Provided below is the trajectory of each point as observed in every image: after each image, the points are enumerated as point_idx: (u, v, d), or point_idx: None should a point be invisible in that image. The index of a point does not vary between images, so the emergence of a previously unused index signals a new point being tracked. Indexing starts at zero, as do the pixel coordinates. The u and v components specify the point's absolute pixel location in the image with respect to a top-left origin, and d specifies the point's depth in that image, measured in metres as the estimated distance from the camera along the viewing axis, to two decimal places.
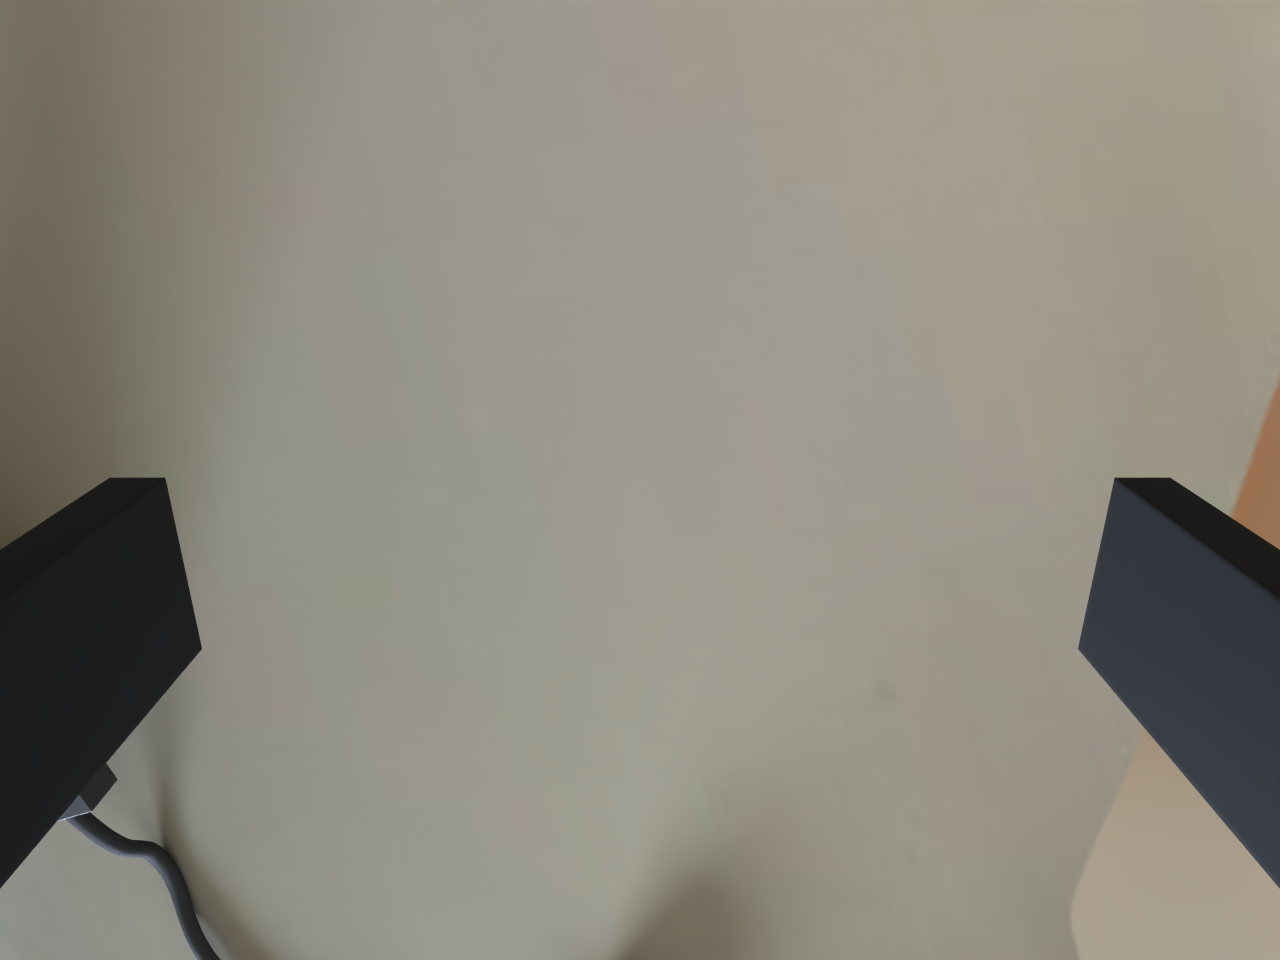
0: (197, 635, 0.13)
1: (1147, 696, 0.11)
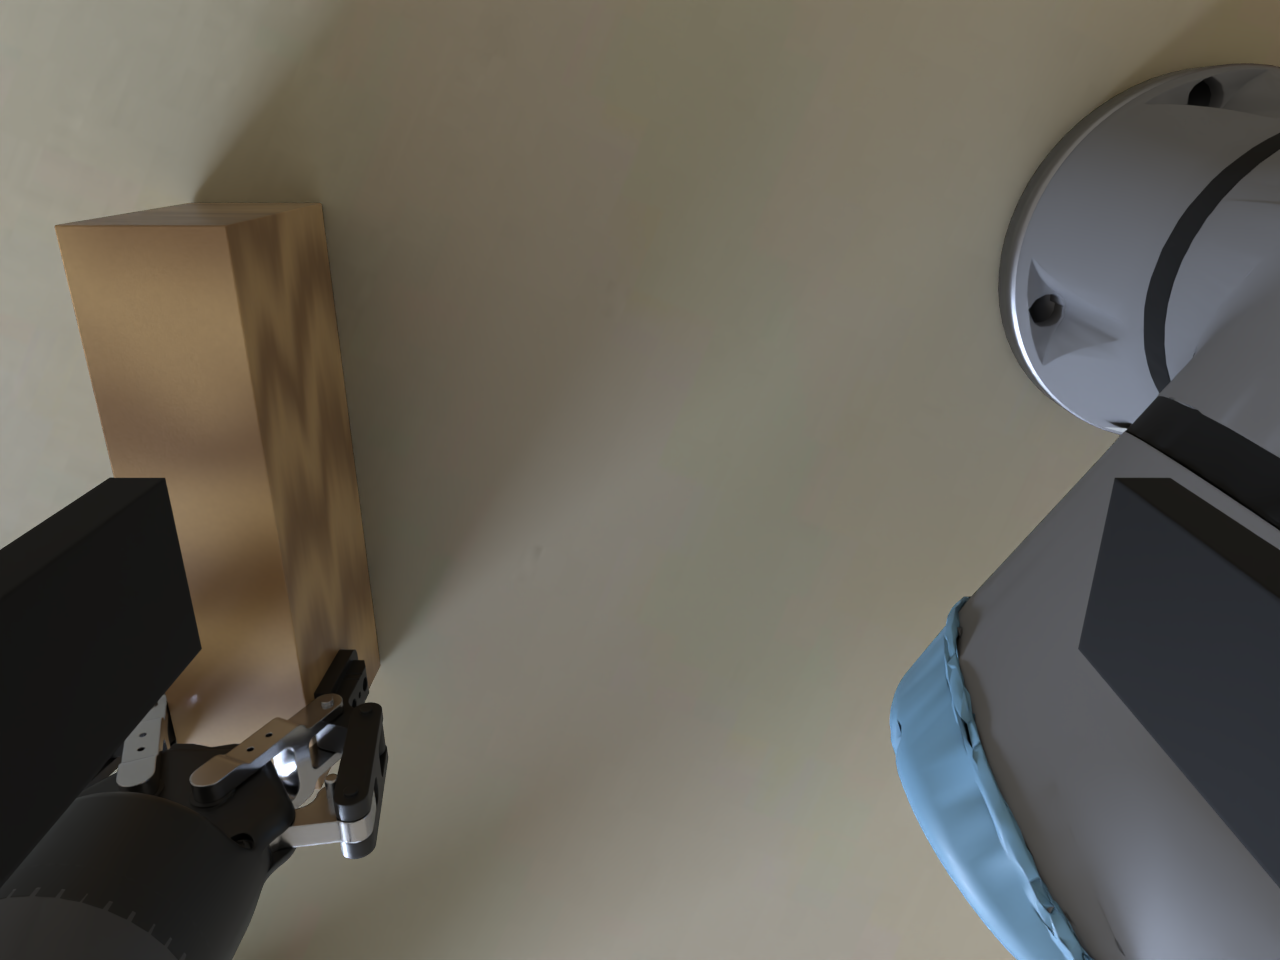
0: (197, 635, 0.13)
1: (1147, 696, 0.11)
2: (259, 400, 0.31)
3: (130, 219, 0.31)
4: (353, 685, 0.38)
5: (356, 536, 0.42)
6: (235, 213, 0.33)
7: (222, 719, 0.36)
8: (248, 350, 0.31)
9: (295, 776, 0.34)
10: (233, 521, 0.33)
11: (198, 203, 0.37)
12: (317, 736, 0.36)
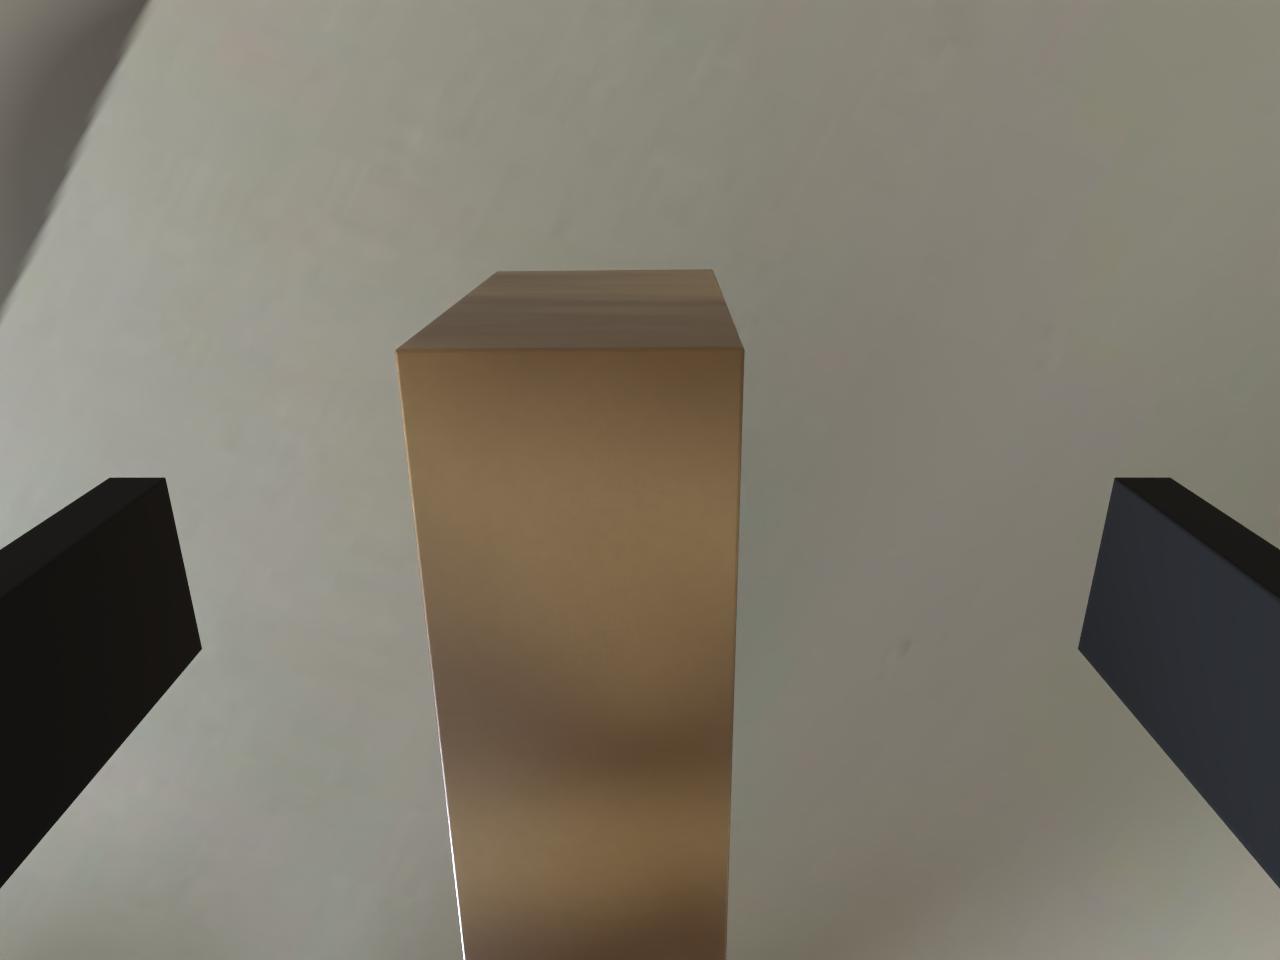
0: (197, 635, 0.13)
1: (1147, 696, 0.11)
2: (733, 661, 0.17)
3: (504, 325, 0.16)
4: None
5: None
6: (651, 302, 0.18)
7: None
8: None
9: None
10: (652, 863, 0.18)
11: (515, 272, 0.23)
12: None
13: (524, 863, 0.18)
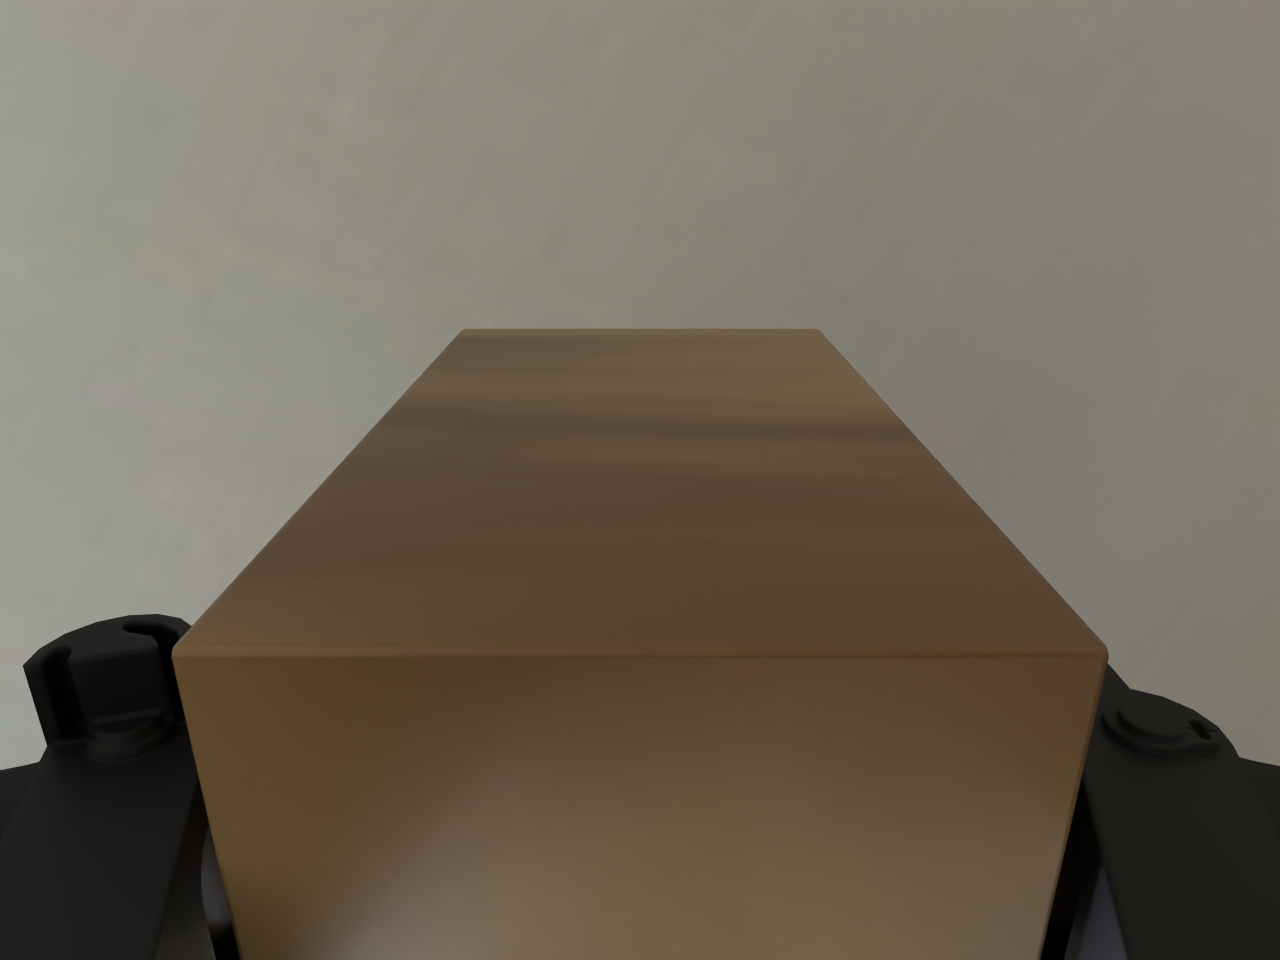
0: None
1: None
2: None
3: (470, 516, 0.07)
4: None
5: None
6: (762, 425, 0.09)
7: None
8: None
9: None
10: None
11: (494, 332, 0.14)
12: None
13: None
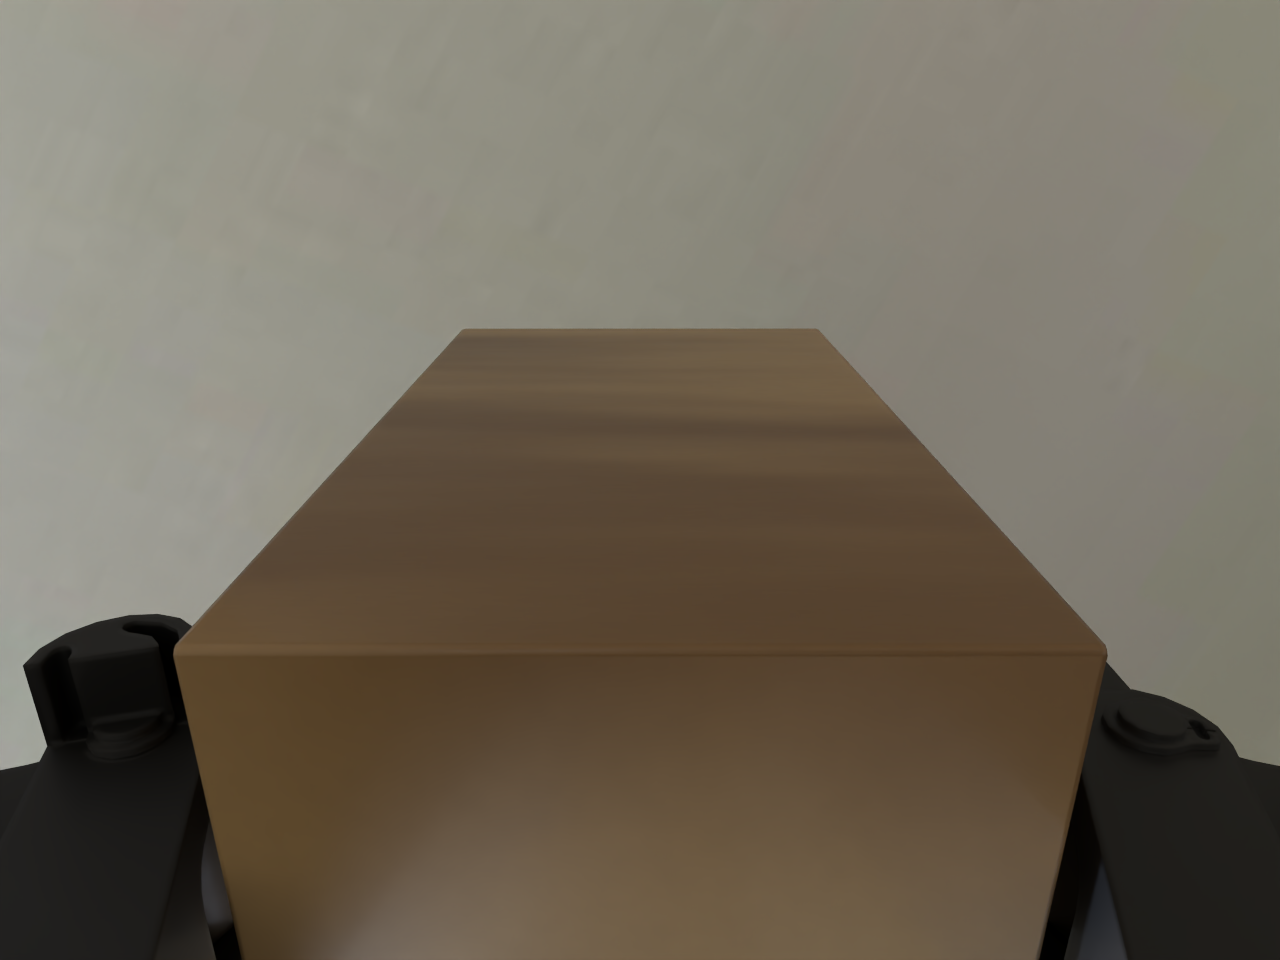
0: None
1: None
2: None
3: (471, 515, 0.07)
4: None
5: None
6: (762, 425, 0.09)
7: None
8: None
9: None
10: None
11: (494, 332, 0.14)
12: None
13: None
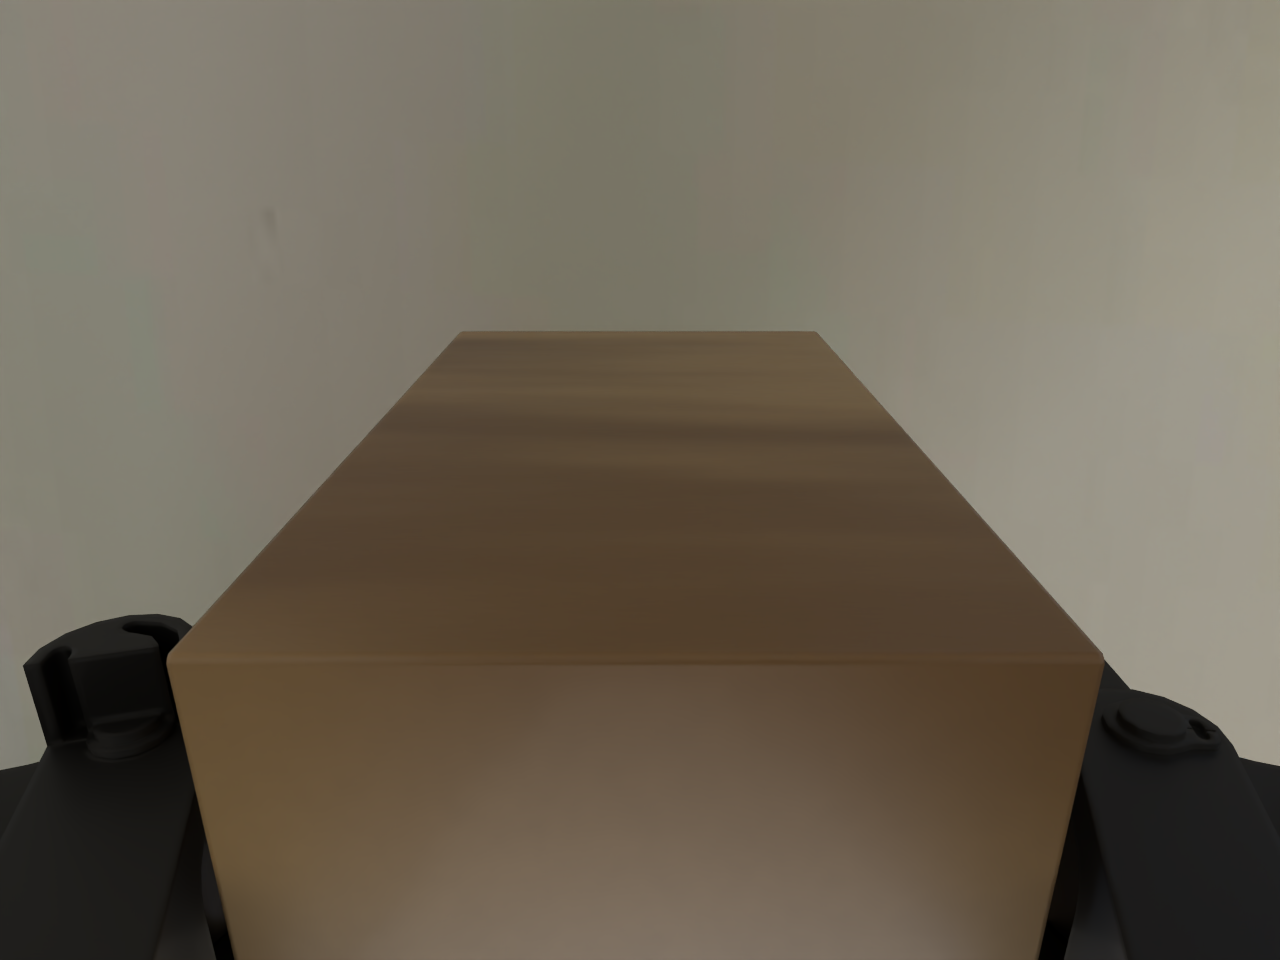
0: None
1: None
2: None
3: (467, 521, 0.07)
4: None
5: None
6: (759, 429, 0.09)
7: None
8: None
9: None
10: None
11: (492, 335, 0.14)
12: None
13: None
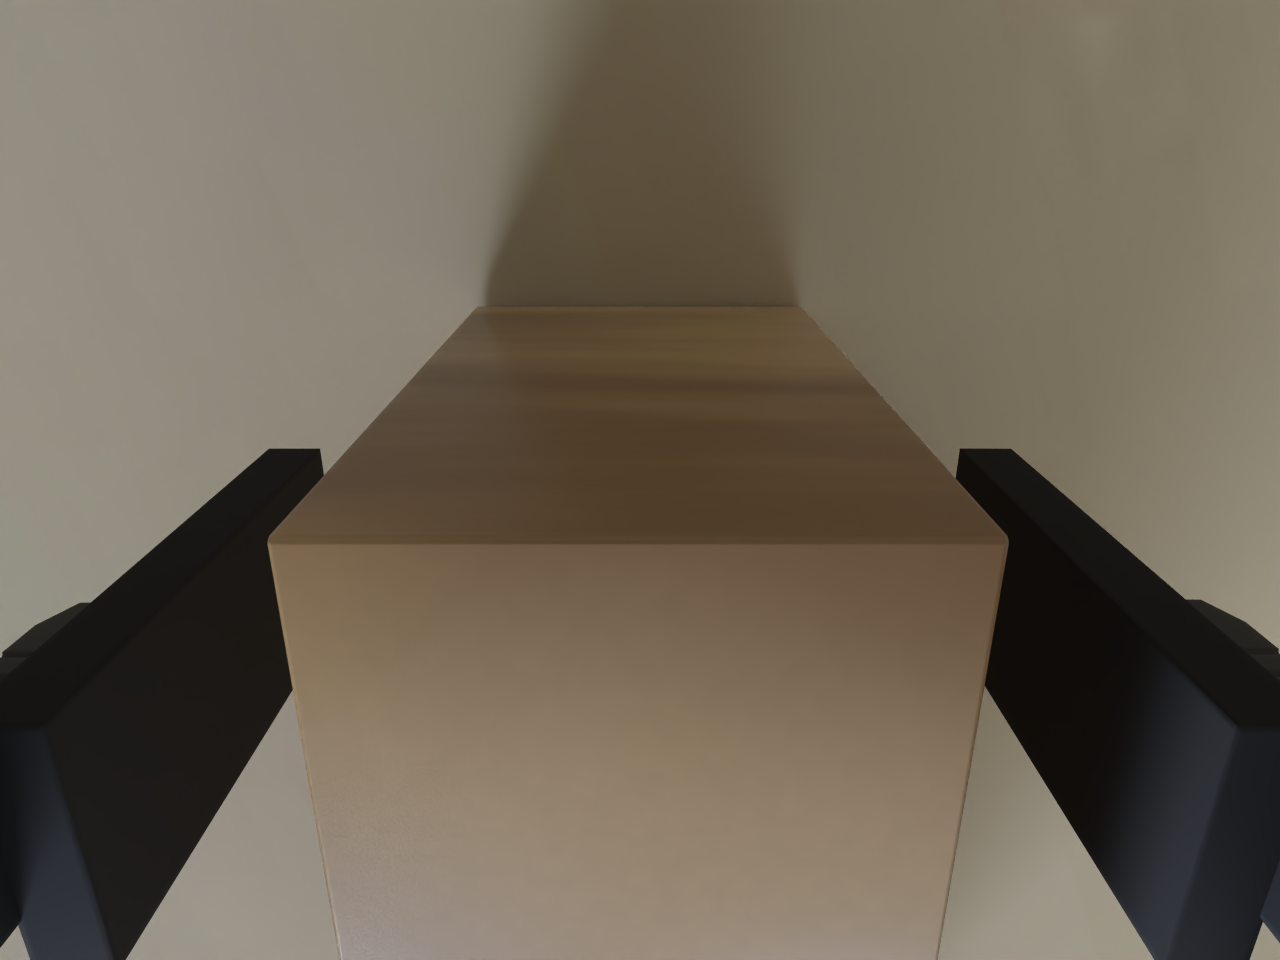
0: None
1: None
2: None
3: (497, 449, 0.08)
4: None
5: None
6: (744, 383, 0.11)
7: None
8: (938, 936, 0.08)
9: None
10: None
11: (506, 309, 0.15)
12: None
13: None
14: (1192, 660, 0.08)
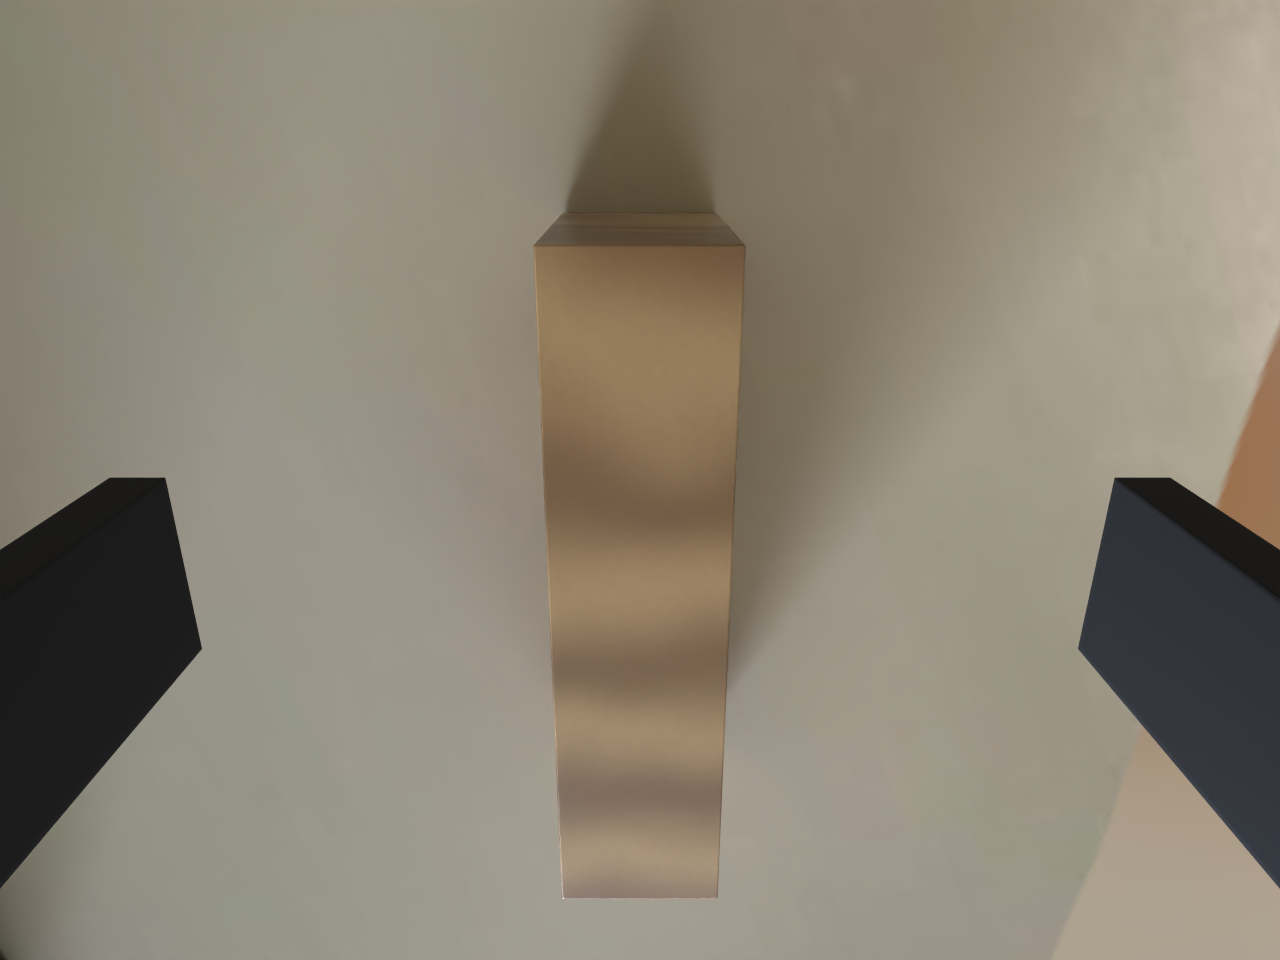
0: (197, 635, 0.13)
1: (1147, 696, 0.11)
2: (735, 453, 0.26)
3: (592, 236, 0.25)
4: None
5: None
6: (680, 227, 0.27)
7: (619, 820, 0.31)
8: (738, 395, 0.25)
9: None
10: (680, 595, 0.27)
11: (576, 214, 0.32)
12: None
13: (596, 596, 0.27)
14: None
